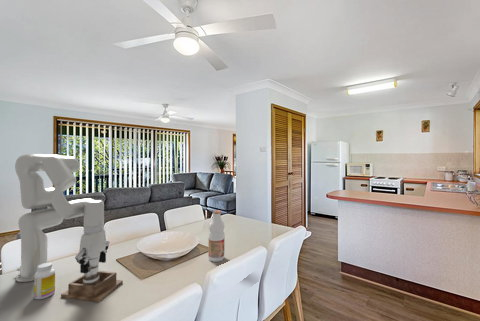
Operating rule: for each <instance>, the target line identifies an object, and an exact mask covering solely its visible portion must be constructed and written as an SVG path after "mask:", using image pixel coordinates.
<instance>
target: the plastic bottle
mask: <svg viewBox="0 0 480 321" xmlns="http://www.w3.org/2000/svg"><path fill="white" fill-rule="evenodd" d="M85 256H87V255H86V253H85ZM99 258H100V251H96V252H95V253H94V254H93V255H92V257H90V258H89V260H88V262H87V263H88V273H83V275H84V279H83V283H82V284H85V285H94V286H96V285H97V284H98V283H100V277H99V271H100V269H99V268H100V267H99V265H100V262H99ZM85 259H86V258H84V261H85Z"/></svg>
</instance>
